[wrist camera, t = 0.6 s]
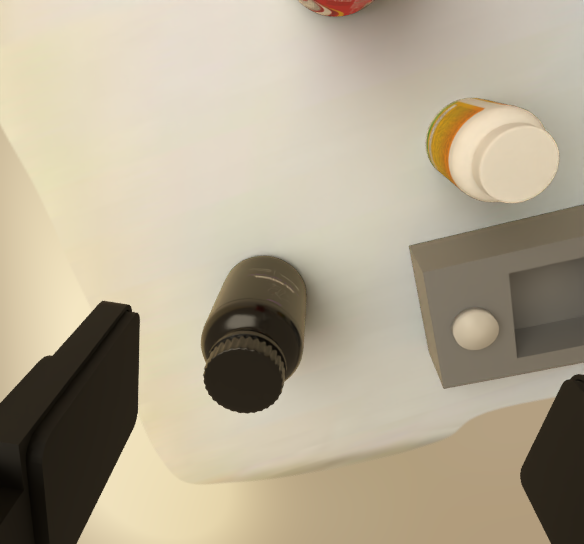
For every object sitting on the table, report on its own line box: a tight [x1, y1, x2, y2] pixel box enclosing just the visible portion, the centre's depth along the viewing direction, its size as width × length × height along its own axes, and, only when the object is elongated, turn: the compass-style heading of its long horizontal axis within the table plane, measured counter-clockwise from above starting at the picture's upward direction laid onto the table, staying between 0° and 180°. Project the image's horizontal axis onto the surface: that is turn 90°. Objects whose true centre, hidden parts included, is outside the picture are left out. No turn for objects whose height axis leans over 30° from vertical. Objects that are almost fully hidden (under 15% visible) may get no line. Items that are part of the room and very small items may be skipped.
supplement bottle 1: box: [201, 256, 306, 413], centre depth 33 cm, size 7×7×12 cm
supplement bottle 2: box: [426, 98, 559, 203], centre depth 28 cm, size 5×5×10 cm
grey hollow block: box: [409, 205, 584, 389], centre depth 34 cm, size 14×10×6 cm
